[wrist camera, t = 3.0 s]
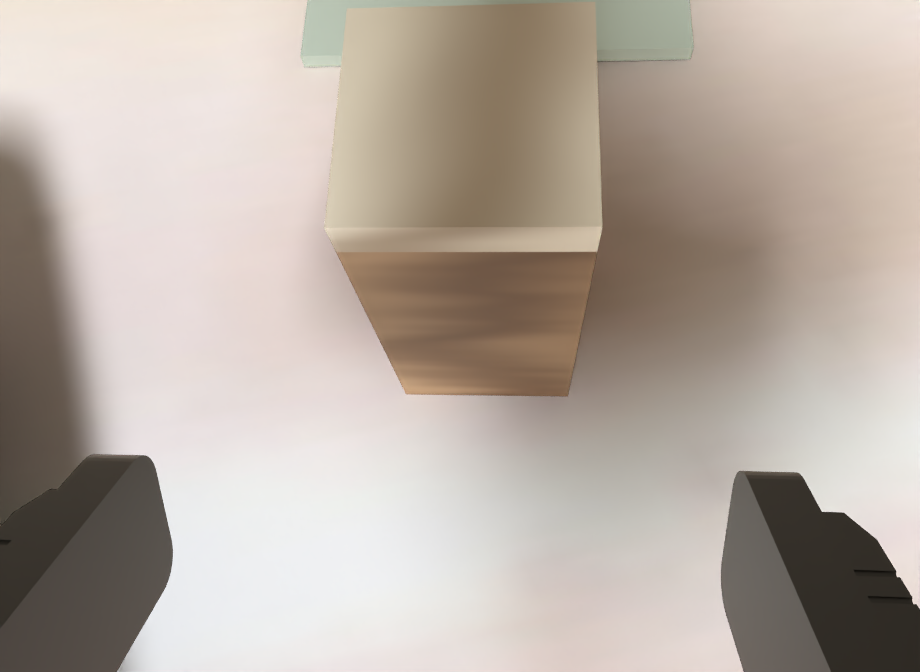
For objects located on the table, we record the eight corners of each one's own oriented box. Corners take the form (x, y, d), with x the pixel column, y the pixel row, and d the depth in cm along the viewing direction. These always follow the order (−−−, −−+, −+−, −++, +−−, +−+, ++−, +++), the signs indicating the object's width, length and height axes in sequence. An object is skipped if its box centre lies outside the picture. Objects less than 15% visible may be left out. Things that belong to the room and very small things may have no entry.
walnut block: (406, 394, 25) (324, 227, 14) (414, 249, 26) (346, 8, 16) (567, 396, 24) (602, 226, 14) (565, 249, 26) (595, 1, 16)
